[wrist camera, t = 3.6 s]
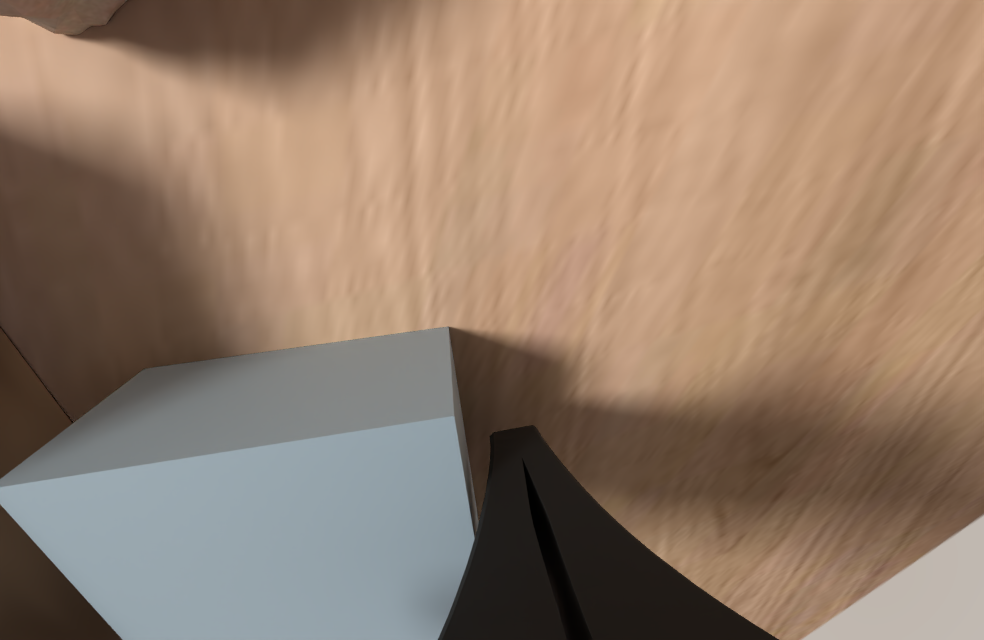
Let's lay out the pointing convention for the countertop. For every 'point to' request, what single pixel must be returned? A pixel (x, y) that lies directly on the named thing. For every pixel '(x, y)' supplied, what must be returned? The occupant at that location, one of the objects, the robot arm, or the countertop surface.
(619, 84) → the countertop surface
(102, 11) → the brick
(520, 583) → the robot arm
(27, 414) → the fence board
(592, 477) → the countertop surface
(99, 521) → the grey block
